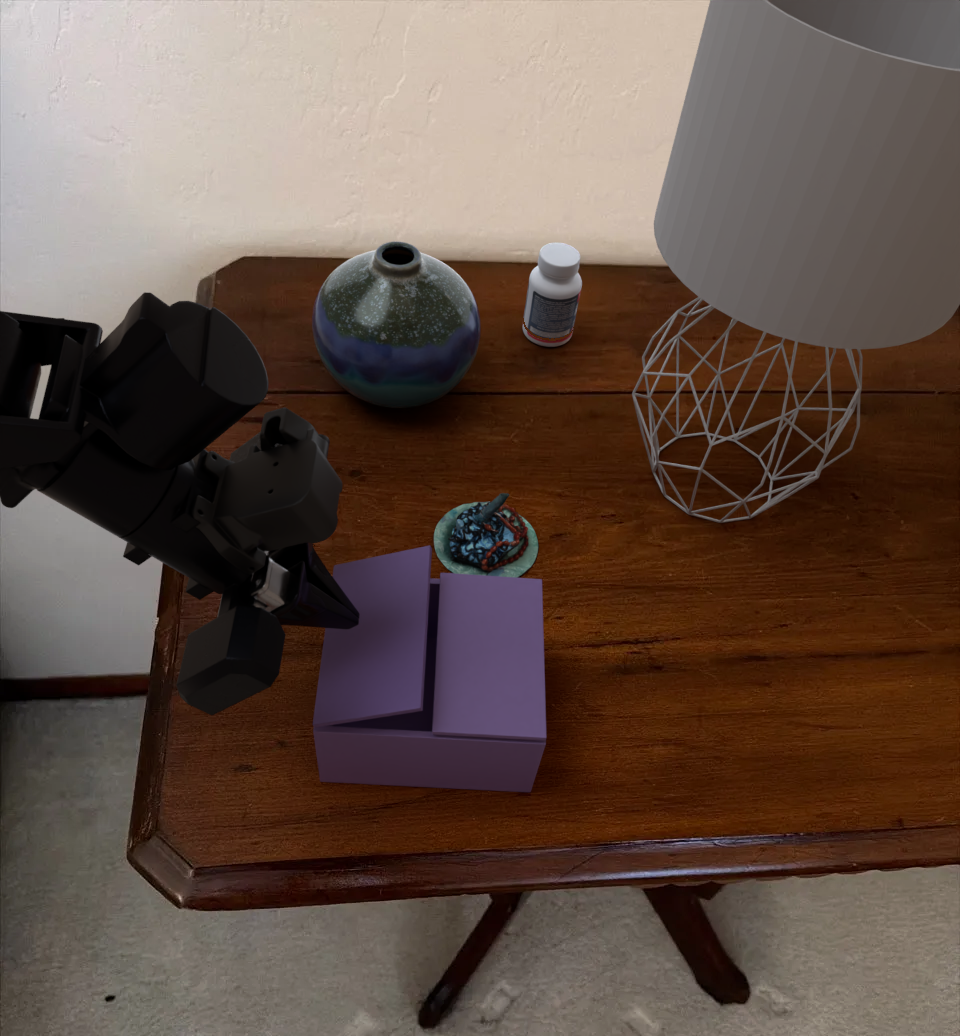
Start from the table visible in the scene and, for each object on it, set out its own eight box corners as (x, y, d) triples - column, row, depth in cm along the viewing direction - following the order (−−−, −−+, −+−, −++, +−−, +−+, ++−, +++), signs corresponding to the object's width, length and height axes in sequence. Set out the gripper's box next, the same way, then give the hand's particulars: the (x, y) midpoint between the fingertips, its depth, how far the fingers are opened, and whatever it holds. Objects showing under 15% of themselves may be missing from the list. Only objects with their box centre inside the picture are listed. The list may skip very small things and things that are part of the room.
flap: (315, 727, 58) (312, 724, 57) (336, 568, 65) (333, 565, 65) (422, 711, 56) (420, 707, 55) (432, 548, 63) (430, 545, 63)
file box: (319, 781, 64) (312, 725, 57) (338, 630, 72) (334, 564, 65) (530, 792, 65) (547, 738, 58) (528, 642, 73) (543, 578, 66)
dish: (441, 478, 78) (504, 479, 73) (495, 510, 83) (557, 513, 78) (413, 566, 77) (474, 573, 72) (469, 593, 82) (530, 601, 77)
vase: (316, 434, 83) (305, 310, 72) (316, 326, 92) (307, 200, 81) (482, 434, 85) (497, 312, 74) (467, 328, 94) (479, 205, 83)
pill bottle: (579, 345, 94) (595, 267, 86) (532, 351, 93) (544, 274, 85) (561, 313, 96) (575, 235, 89) (515, 319, 95) (525, 241, 88)
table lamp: (562, 406, 88) (668, -100, 55) (769, 383, 93) (981, -97, 60) (641, 587, 77) (834, 81, 44) (873, 550, 81) (1207, 68, 48)
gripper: (204, 569, 40) (441, 709, 50) (267, 304, 50) (452, 463, 60) (70, 655, 46) (305, 765, 56) (151, 402, 56) (337, 532, 66)
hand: (354, 622), depth 59 cm, fingers closed
